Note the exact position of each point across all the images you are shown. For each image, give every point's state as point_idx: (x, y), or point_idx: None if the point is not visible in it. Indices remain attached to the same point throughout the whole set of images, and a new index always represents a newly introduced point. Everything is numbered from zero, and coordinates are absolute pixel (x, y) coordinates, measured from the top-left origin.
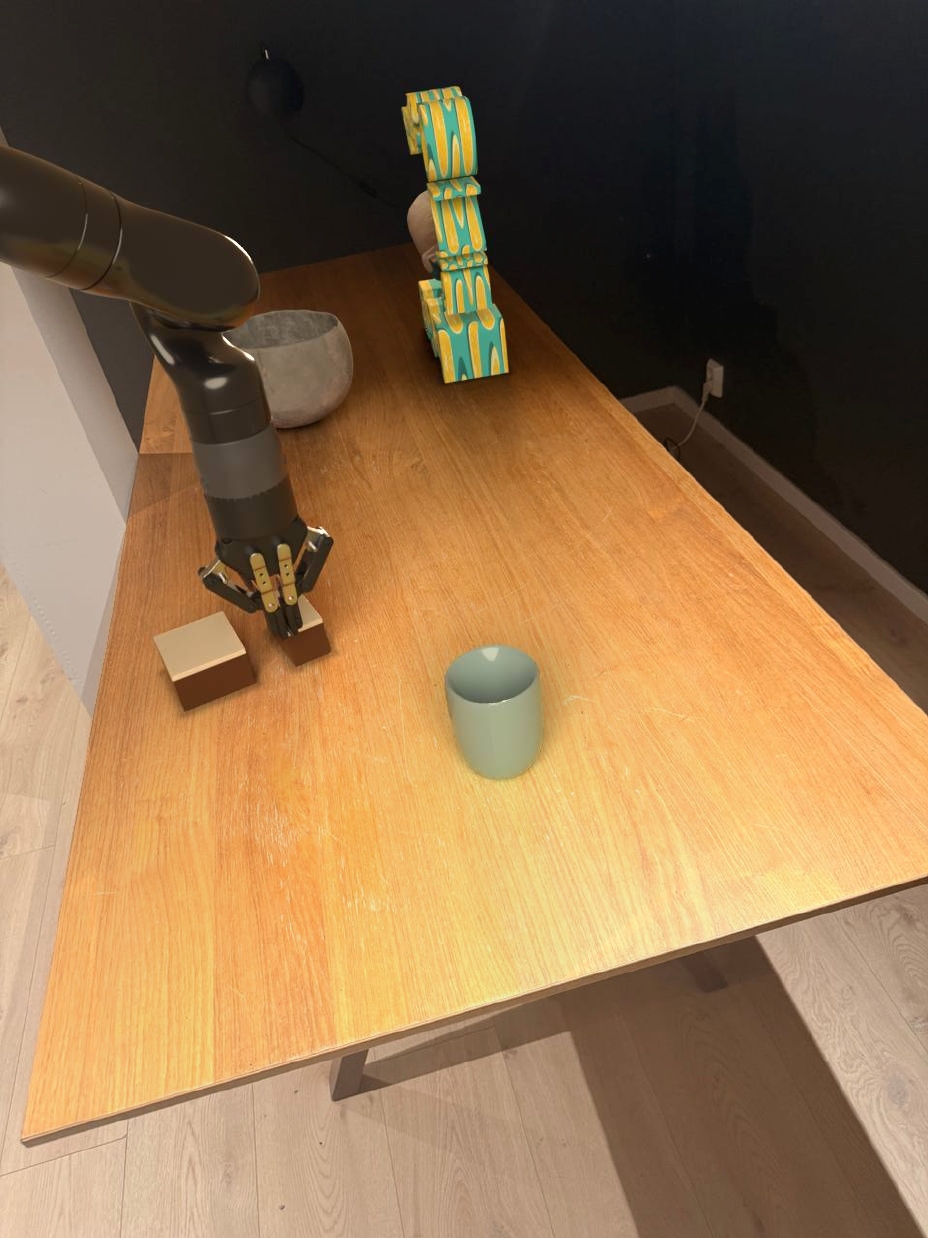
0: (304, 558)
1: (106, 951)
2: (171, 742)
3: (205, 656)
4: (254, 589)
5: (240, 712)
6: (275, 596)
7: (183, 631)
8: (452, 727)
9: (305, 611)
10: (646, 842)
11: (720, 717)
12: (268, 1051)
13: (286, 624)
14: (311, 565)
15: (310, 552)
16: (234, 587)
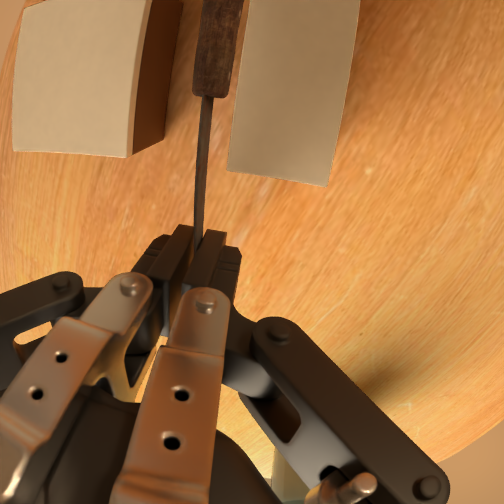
0: (305, 430)
1: (18, 342)
2: (39, 183)
3: (60, 129)
4: (202, 27)
5: (119, 190)
6: (289, 6)
7: (60, 15)
8: (275, 459)
9: (314, 129)
10: None
11: (423, 440)
12: None
13: None
14: (287, 461)
15: (327, 465)
16: (13, 373)
